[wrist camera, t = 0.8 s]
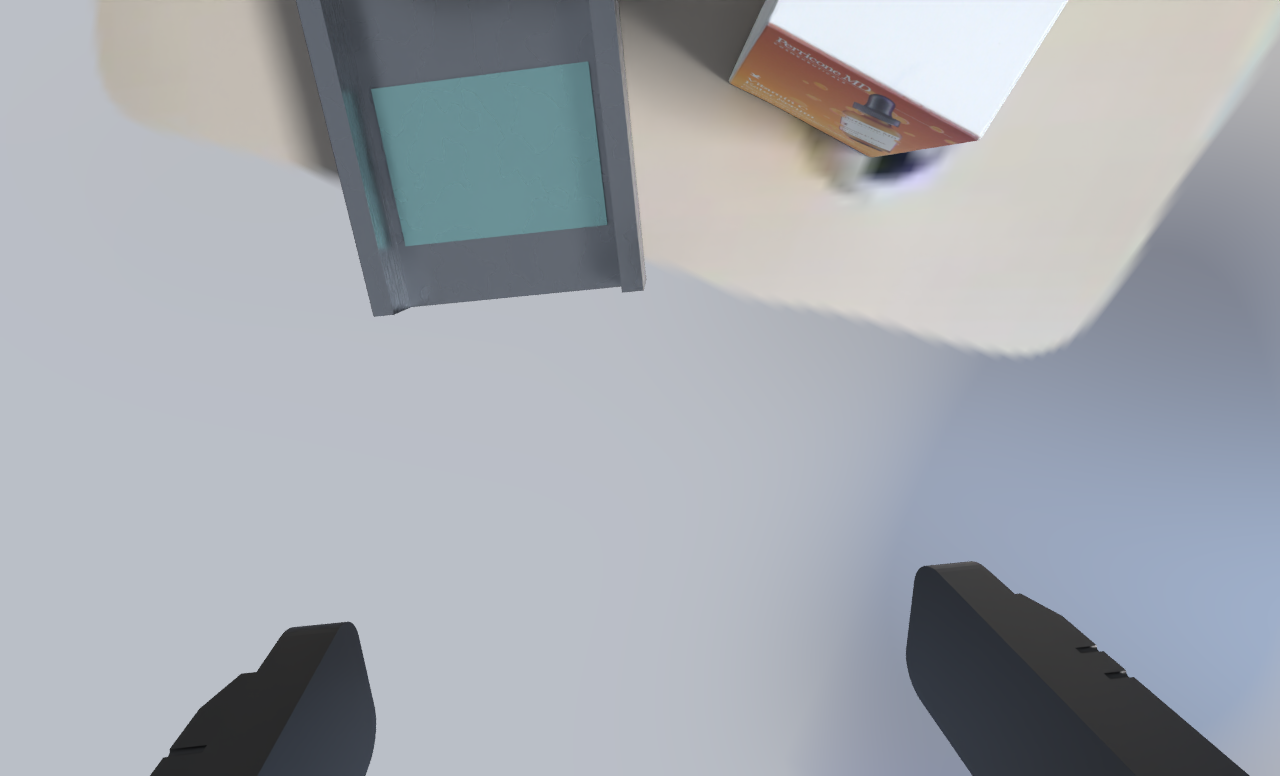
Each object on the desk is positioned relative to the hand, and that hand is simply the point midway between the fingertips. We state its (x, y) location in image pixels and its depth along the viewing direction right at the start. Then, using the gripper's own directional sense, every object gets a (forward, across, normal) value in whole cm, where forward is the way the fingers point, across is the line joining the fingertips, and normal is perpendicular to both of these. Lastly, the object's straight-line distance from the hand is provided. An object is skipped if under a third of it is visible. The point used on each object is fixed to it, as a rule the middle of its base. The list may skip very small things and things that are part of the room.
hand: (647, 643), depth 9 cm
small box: (+23, -12, -12) cm, 28 cm away
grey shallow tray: (+25, +4, -15) cm, 29 cm away
